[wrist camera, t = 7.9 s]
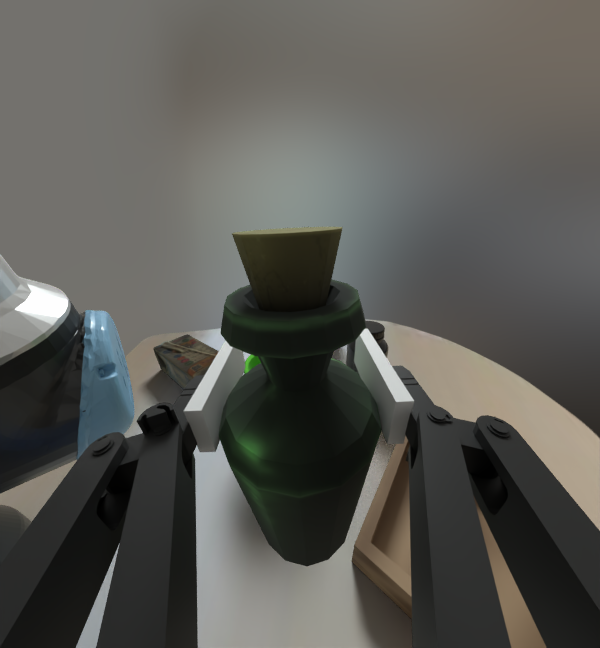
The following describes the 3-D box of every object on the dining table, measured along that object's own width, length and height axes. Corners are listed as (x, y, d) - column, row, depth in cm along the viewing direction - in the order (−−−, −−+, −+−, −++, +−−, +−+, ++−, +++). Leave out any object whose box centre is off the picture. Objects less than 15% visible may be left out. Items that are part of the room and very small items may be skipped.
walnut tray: (351, 561, 20) (354, 545, 18) (398, 445, 29) (402, 428, 28) (588, 789, 12) (629, 795, 10) (545, 526, 21) (562, 508, 20)
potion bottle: (327, 434, 20) (330, 223, 12) (391, 541, 13) (492, 223, 5) (240, 471, 17) (171, 233, 10) (264, 629, 11) (98, 257, 3)
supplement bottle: (390, 387, 39) (401, 329, 34) (362, 401, 37) (369, 341, 31) (364, 367, 45) (370, 314, 39) (337, 378, 42) (340, 323, 37)
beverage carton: (194, 353, 53) (187, 330, 50) (244, 385, 42) (238, 357, 39) (160, 370, 47) (149, 344, 44) (206, 411, 36) (196, 381, 33)
